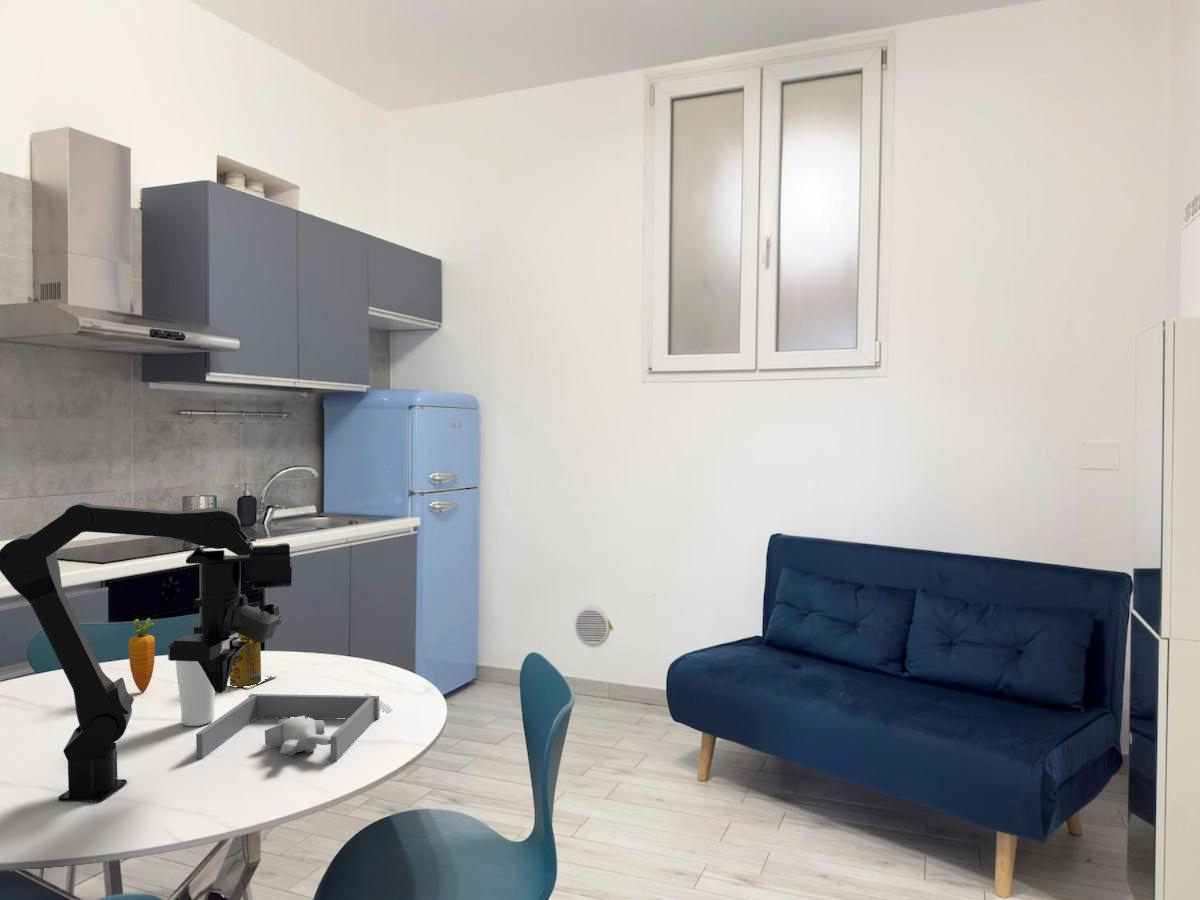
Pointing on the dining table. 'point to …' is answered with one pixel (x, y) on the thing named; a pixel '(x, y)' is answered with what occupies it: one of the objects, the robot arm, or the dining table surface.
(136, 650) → the carrot
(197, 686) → the drinking glass
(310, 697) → the grey u-shaped fence
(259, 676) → the condiment
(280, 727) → the white rounded figure
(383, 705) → the butter knife
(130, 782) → the dining table surface
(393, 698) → the dining table surface
